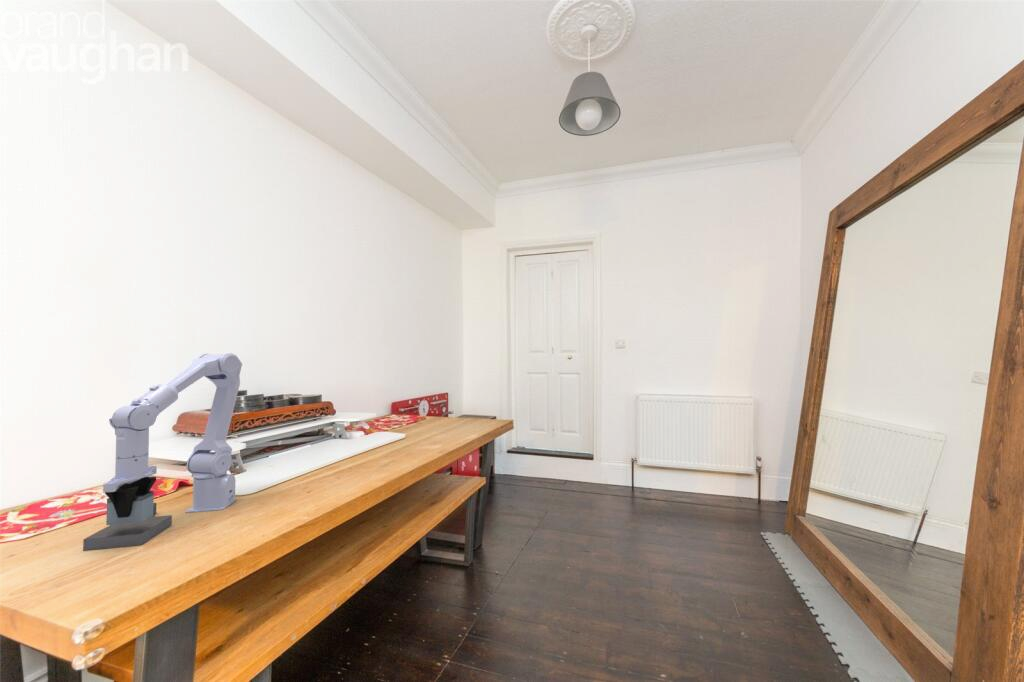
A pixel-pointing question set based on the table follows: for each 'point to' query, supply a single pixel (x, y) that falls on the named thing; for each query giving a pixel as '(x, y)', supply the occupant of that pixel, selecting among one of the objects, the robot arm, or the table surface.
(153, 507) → the rubber block
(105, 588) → the table surface
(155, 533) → the stand
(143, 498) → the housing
